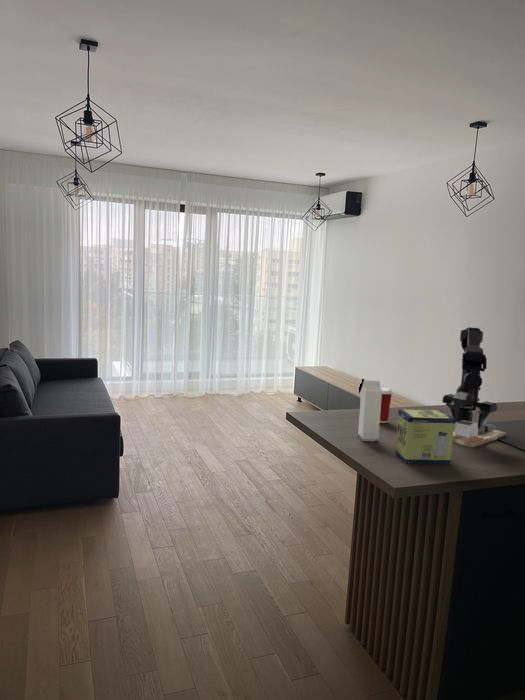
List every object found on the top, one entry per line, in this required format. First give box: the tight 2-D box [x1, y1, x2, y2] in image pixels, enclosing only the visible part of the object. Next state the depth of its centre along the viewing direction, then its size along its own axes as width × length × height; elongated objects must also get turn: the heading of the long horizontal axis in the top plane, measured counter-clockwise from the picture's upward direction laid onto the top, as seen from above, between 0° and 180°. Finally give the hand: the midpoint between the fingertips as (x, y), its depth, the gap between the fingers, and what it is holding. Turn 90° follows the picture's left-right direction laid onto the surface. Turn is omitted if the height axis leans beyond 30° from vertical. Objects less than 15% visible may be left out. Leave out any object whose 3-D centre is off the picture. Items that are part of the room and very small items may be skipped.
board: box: [452, 428, 507, 448], centre depth 205 cm, size 13×26×2 cm, turn 131°
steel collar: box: [454, 420, 478, 439], centre depth 199 cm, size 6×6×5 cm
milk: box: [357, 380, 382, 440], centre depth 194 cm, size 6×6×22 cm
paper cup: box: [380, 386, 393, 421], centre depth 221 cm, size 8×8×14 cm
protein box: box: [394, 408, 455, 465], centre depth 176 cm, size 10×16×16 cm
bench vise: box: [476, 413, 497, 435], centre depth 208 cm, size 5×14×7 cm, turn 131°
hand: (466, 425), depth 198 cm, fingers open, 9 cm apart
